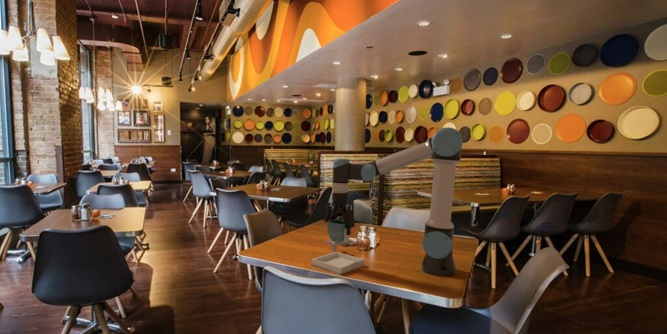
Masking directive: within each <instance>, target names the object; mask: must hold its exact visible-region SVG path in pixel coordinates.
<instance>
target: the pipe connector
mask: <svg viewBox="0 0 667 334" xmlns="http://www.w3.org/2000/svg"><path fill="white" fill-rule="evenodd" d="M324 244H325V245H330V247H331V248H332V253H333V252H337V246H345V242H336V241H332V240H325V241H324Z"/></svg>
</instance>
